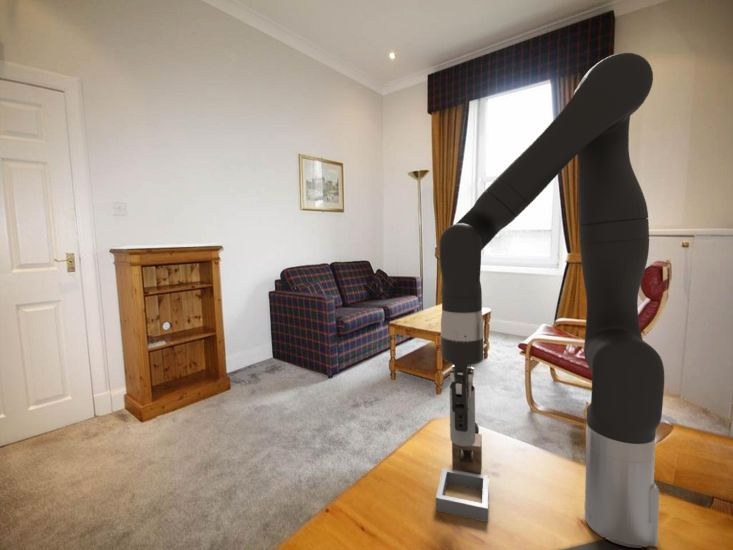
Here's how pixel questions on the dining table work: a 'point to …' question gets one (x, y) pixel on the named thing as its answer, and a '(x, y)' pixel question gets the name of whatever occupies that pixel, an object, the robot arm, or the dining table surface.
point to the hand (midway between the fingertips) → (462, 422)
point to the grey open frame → (460, 505)
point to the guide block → (468, 457)
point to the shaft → (476, 433)
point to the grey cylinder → (469, 435)
